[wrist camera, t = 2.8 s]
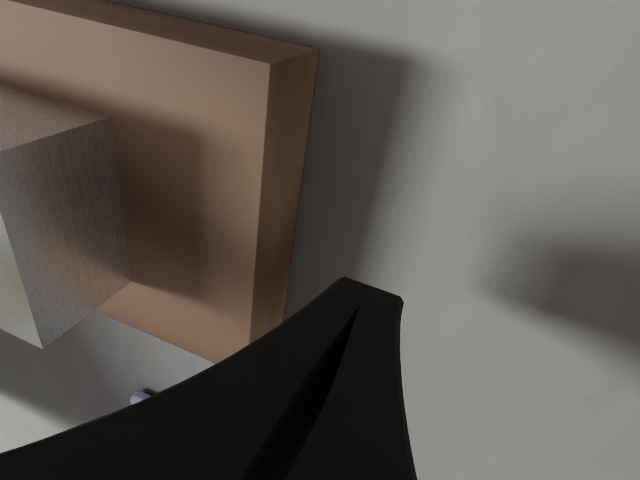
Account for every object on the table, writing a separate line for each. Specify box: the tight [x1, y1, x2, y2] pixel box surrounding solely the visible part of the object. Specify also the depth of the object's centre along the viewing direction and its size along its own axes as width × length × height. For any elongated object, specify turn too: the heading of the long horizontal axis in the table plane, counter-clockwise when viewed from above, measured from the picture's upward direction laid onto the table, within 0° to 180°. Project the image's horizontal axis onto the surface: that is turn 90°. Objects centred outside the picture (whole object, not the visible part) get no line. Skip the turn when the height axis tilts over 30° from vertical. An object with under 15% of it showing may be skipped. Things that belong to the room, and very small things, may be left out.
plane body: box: [0, 0, 319, 364], centre depth 14 cm, size 9×18×2 cm, turn 81°
